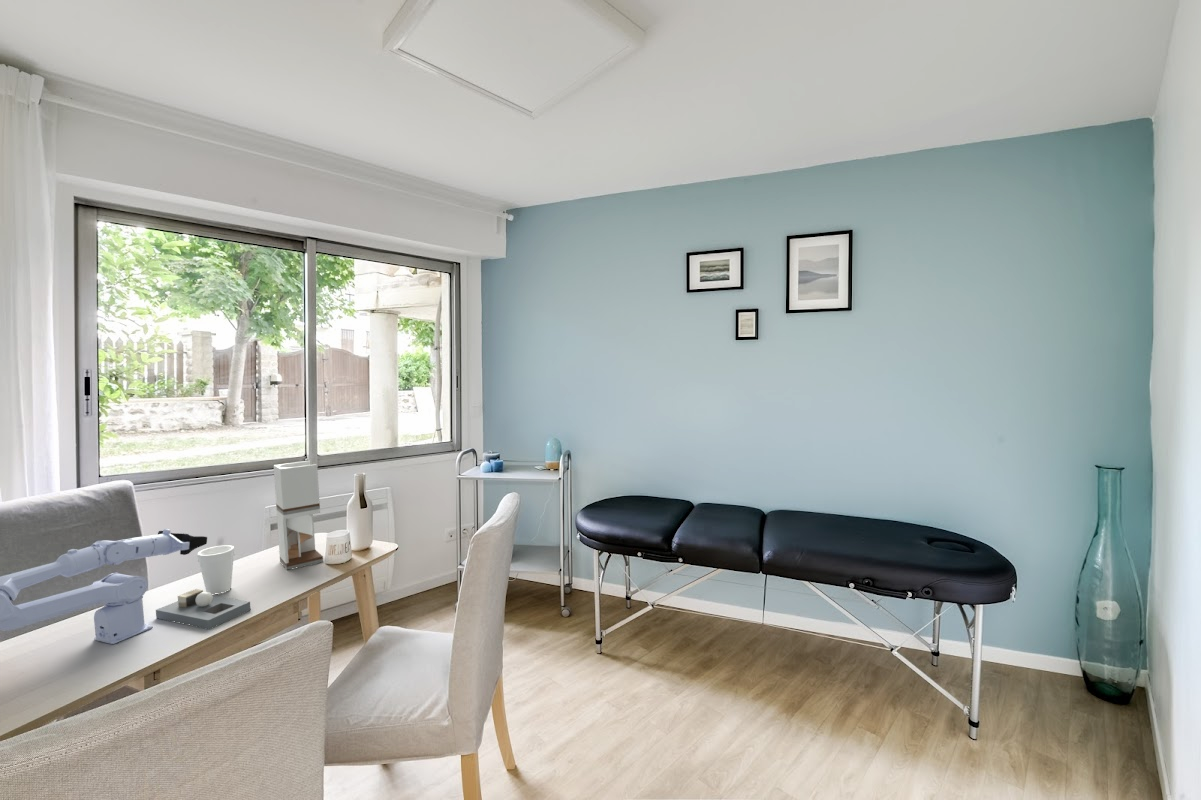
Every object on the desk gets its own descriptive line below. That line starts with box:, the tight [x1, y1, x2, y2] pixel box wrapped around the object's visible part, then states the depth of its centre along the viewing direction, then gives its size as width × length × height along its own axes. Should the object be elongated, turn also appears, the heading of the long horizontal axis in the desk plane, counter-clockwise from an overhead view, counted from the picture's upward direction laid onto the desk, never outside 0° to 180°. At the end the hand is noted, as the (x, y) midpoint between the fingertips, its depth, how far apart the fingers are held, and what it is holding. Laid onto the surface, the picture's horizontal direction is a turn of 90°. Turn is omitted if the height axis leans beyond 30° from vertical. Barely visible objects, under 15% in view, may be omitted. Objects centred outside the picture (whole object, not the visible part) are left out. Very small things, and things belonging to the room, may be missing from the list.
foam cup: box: [197, 544, 235, 594], centre depth 174 cm, size 10×9×13 cm
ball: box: [195, 591, 213, 607], centre depth 158 cm, size 4×4×4 cm
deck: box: [155, 595, 251, 630], centre depth 158 cm, size 12×21×2 cm, turn 70°
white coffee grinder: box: [273, 460, 324, 570], centre depth 197 cm, size 11×11×35 cm
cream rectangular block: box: [177, 588, 204, 608], centre depth 160 cm, size 5×3×3 cm
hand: (196, 538), depth 166 cm, fingers open, 7 cm apart
